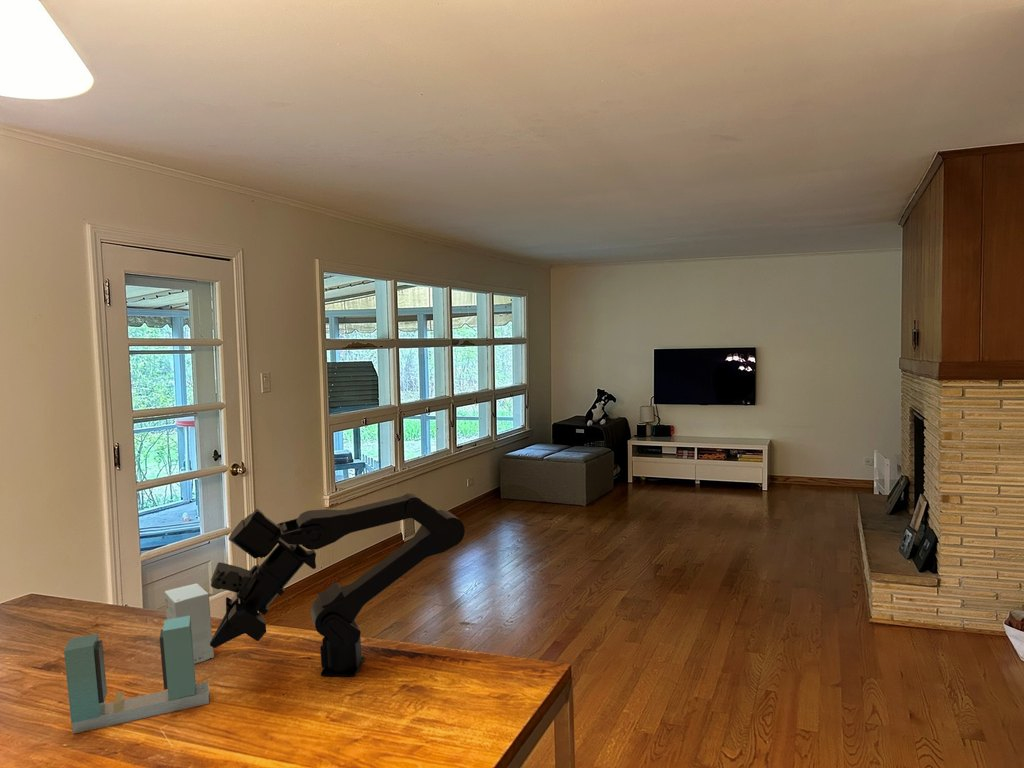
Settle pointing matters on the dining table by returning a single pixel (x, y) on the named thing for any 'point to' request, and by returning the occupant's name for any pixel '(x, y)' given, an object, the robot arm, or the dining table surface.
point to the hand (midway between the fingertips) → (211, 645)
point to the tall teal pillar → (178, 657)
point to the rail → (91, 691)
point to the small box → (193, 616)
